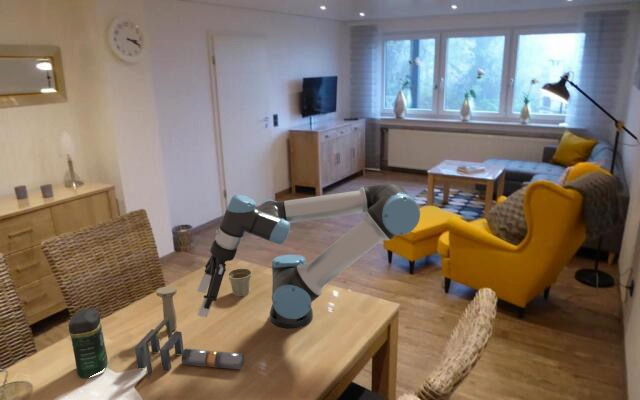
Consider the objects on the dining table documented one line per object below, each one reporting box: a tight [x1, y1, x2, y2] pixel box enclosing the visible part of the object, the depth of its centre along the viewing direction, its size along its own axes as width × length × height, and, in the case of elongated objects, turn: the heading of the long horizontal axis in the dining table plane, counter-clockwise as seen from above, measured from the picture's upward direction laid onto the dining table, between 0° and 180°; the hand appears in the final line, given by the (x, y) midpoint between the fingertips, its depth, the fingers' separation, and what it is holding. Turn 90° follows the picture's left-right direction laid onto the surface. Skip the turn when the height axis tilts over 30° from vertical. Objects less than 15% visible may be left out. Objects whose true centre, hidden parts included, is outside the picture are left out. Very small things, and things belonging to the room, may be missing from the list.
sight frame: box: [143, 316, 175, 376], centre depth 135 cm, size 1×14×11 cm, turn 170°
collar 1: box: [134, 328, 161, 369], centre depth 137 cm, size 2×10×7 cm, turn 170°
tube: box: [180, 348, 245, 371], centre depth 133 cm, size 18×4×4 cm, turn 80°
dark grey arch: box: [159, 330, 185, 372], centre depth 135 cm, size 2×10×7 cm, turn 170°
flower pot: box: [226, 267, 253, 298], centre depth 175 cm, size 9×9×9 cm
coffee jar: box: [67, 307, 109, 379], centre depth 131 cm, size 10×8×19 cm
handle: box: [155, 286, 178, 332], centre depth 151 cm, size 5×6×15 cm
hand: (201, 303), depth 139 cm, fingers open, 13 cm apart
